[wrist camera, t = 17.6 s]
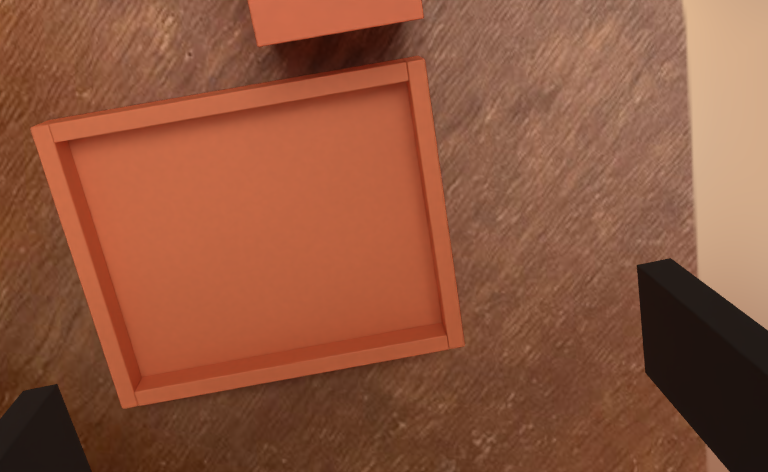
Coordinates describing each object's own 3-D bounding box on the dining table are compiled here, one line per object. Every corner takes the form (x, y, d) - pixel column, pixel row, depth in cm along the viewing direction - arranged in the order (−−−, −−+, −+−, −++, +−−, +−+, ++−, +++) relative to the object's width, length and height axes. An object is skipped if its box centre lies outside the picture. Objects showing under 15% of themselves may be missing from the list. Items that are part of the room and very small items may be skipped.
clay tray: (419, 55, 31) (425, 58, 29) (457, 327, 35) (465, 347, 33) (48, 119, 30) (29, 127, 28) (133, 386, 35) (121, 409, 33)
